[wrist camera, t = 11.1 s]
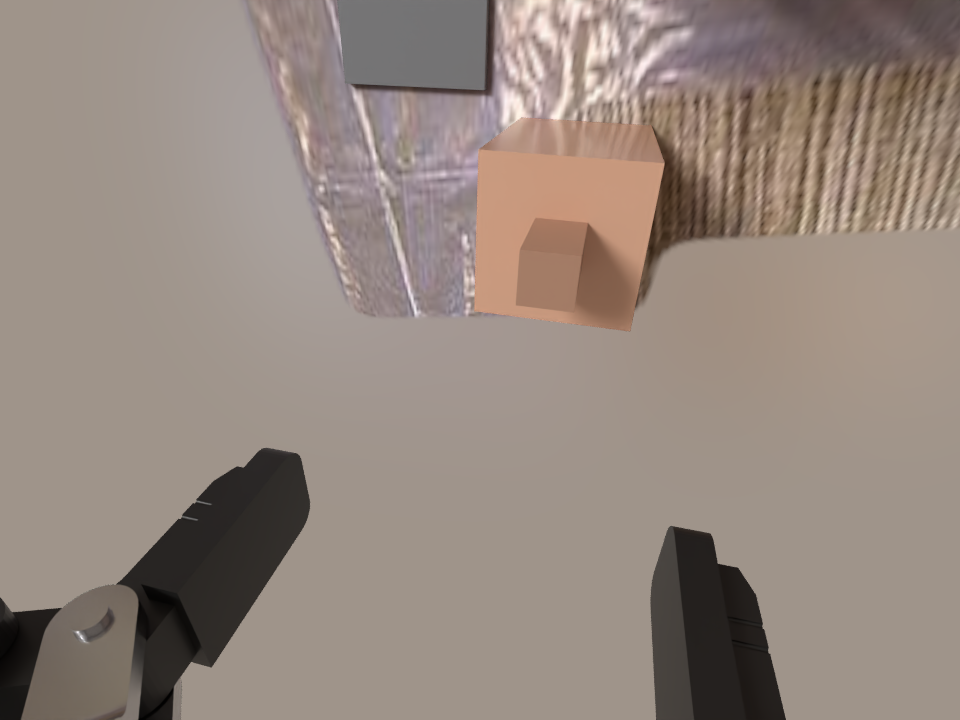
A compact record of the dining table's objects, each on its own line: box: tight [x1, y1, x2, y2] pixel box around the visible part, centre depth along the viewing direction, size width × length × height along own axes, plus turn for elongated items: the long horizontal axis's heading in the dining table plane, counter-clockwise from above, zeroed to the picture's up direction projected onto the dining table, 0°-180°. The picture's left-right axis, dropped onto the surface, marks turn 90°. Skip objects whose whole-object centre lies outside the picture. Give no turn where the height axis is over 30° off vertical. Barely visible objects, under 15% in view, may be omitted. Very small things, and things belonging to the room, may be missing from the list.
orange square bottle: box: [474, 118, 665, 331], centre depth 30 cm, size 9×9×18 cm
